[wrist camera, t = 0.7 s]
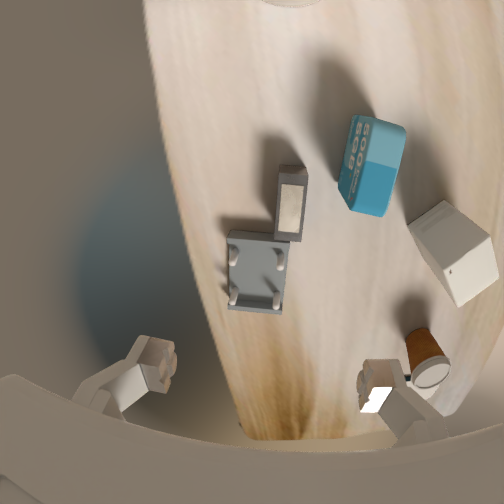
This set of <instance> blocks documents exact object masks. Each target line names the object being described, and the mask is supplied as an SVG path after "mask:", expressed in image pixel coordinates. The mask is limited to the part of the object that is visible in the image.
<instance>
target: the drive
mask: <svg viewBox="0 0 504 504" xmlns="http://www.w3.org/2000/svg"><path fill="white" fill-rule="evenodd" d="M307 185H308V172H307V169H306V167H301V166H290V165H280V168H279V178H278V192H277V206H276V220H275V233H274V240H284V241H295V242H301V238H302V230H303V222H304V213H305V204H306V195H307Z"/></svg>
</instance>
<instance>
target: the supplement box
mask: <svg viewBox="0 0 504 504" xmlns="http://www.w3.org/2000/svg"><path fill="white" fill-rule="evenodd" d="M408 229H409V230H410V232H411V234H412V236H413V238H414V240H415V242H416V244H417V246H418V248H419V250H420V252H421V254H422V256H423V258H424V260H425V261H426V263H427V264H428V265H429V267H430V268H431V270H432V271H433V272H434V274H435V275H436V277H437V278H438V280H439V281H440V282H441V284H442V285H443V287H444V288H445V290H446V291H447V293H448V294H449V296H450V297H451V299H452V300H453V302H454V303H455V305H456V307H457V308H459V307H460V306H462V305H463V304H465V303H466V302H467V301H469V300H470V299H472V298H473V297H474V296H476V295H477V294H478V293H480V292H481V291H482V290H484V289H485V288H486V287H488V286H489V285H490V284H492V283H493V282H494V281H496V280H497V279H498V278H499V274H498V268H497V264H496V260H495V255H494V250H493V246H492V242H491V238H490V235H489V234H488V233H487V232H485V231H484V230H483V229H482V228H480V227H479V226H478V225H477V224H475V223H474V222H473V221H472V220H470V219H469V218H468V217H467V216H465V215H464V214H463V213H461V212H460V211H459V210H458V209H456V208H455V207H454V206H452V205H451V204H449V203H448V202H447V201H446V200H443V201H441V202H440V203H439V204H437V205H436V206H435V207H433V208H432V209H430V210H429V211H427V212H426V213H425V214H423V215H422V216H420V217H419V218H417V219H416V220H415V221H413V222H412V223H410V224H409V225H408Z"/></svg>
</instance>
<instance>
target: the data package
mask: <svg viewBox="0 0 504 504" xmlns="http://www.w3.org/2000/svg"><path fill="white" fill-rule="evenodd" d="M405 141H406V131H405V129H404V128H403V127H402V126H399V125H396V124H393V123H390V122H387V121H383V120H380V119H377V118H373V117H368V116H361V115H354V116H353V118H352V120H351V124H350V129H349V134H348V139H347V144H346V148H345V153H344V158H343V162H342V167H341V171H340V176H339V180H338V189H339V191H340V193H341V195H342V197H343V198H344V200H345V202H346V204H347V205H348V207H349V209H350V210H351V211H356V212H360V213H365V214H369V215H373V216H378V217H383V216H384V215H385V214H386V212H387V209H388V206H389V202H390V199H391V195H392V192H393V188H394V185H395V181H396V177H397V174H398V170H399V166H400V162H401V158H402V154H403V150H404V145H405Z"/></svg>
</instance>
